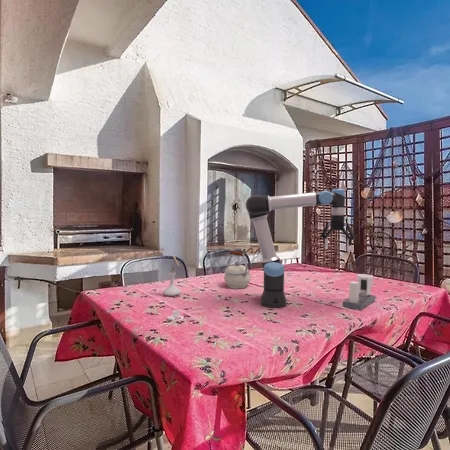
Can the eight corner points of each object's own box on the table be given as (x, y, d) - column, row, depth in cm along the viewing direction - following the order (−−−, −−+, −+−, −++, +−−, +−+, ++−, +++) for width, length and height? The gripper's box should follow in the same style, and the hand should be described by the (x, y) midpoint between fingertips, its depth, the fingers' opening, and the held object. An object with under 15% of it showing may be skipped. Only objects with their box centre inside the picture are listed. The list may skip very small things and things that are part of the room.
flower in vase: (177, 297, 207) (177, 257, 206) (160, 296, 209) (159, 256, 208) (184, 292, 220) (184, 254, 219) (167, 291, 222) (167, 254, 221)
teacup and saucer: (168, 322, 163) (168, 314, 163) (164, 317, 171) (164, 309, 170) (185, 320, 167) (185, 312, 166) (181, 315, 174) (181, 307, 174)
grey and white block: (342, 306, 190) (343, 282, 190) (358, 297, 210) (359, 275, 209) (360, 310, 184) (361, 285, 183) (375, 300, 204) (375, 277, 203)
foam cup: (360, 292, 222) (360, 273, 221) (374, 295, 216) (375, 275, 215) (354, 295, 215) (354, 275, 215) (368, 298, 209) (369, 277, 208)
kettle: (256, 287, 235) (257, 252, 233) (235, 291, 224) (236, 254, 223) (235, 281, 255) (236, 248, 254) (215, 284, 245) (215, 250, 244)
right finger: (356, 306, 187) (356, 283, 187) (349, 305, 190) (349, 282, 189) (359, 304, 191) (359, 282, 190) (352, 303, 194) (352, 281, 193)
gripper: (315, 214, 206) (314, 248, 207) (356, 215, 190) (355, 252, 191) (320, 214, 212) (320, 247, 213) (361, 215, 195) (360, 251, 196)
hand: (337, 250), depth 202 cm, fingers open, 13 cm apart
